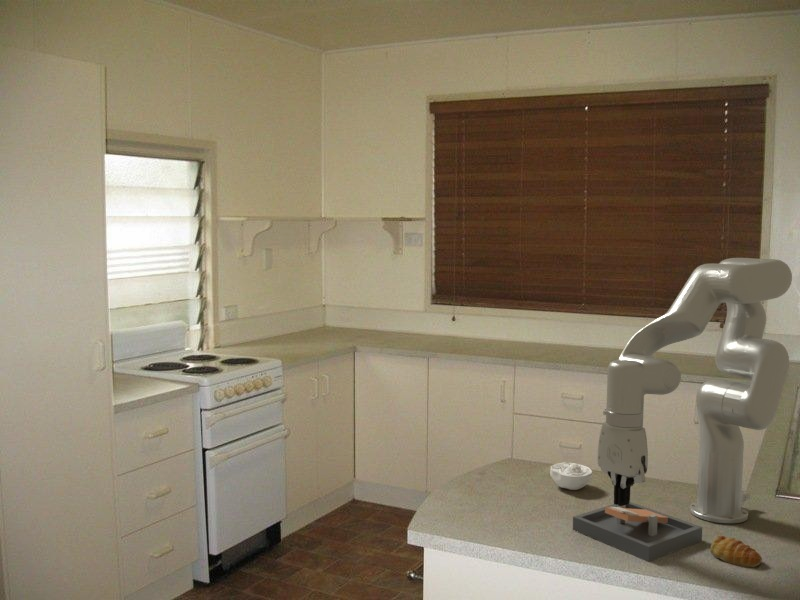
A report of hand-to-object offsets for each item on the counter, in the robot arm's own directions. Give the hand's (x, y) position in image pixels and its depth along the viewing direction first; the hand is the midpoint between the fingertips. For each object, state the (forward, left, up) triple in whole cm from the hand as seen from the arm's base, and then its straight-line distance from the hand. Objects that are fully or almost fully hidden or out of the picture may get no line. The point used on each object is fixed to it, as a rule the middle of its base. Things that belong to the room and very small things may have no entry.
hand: (621, 503), depth 166 cm
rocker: (-5, 0, -4) cm, 6 cm away
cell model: (-17, -30, -8) cm, 36 cm away
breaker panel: (-5, 0, -8) cm, 10 cm away
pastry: (-12, +19, -9) cm, 24 cm away
